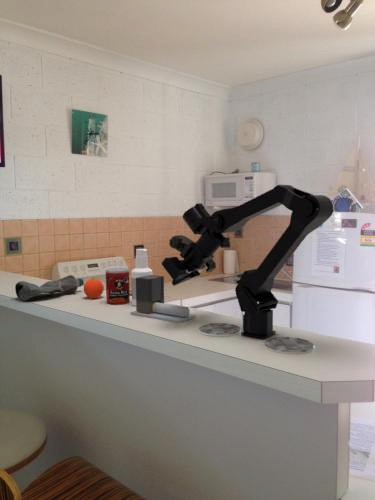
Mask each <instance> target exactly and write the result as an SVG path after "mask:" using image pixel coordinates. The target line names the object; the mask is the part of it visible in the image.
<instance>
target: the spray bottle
mask: <svg viewBox="0 0 375 500" xmlns="http://www.w3.org/2000/svg"><path fill="white" fill-rule="evenodd" d="M135 251H136V252H135V268H133V269H132V270H131V272H130V273H131V279H130V280H131V305H132V306H133V307H136V278H138V277H143V276H148V275H154V273H153V270H152V269H151V268H150V267H149V257H148V249H147V248H136V249H135Z"/></svg>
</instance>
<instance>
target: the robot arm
mask: <svg viewBox="0 0 375 500" xmlns="http://www.w3.org/2000/svg"><path fill="white" fill-rule="evenodd" d="M281 205H283V207H285V208H286V209H288V210H289V211H291V214H290V220H289V225H288V226H287V227H286V229H285V230H284V231H283V233H282V234H281V235H280V237H279V239H278V240H277V241H276V243H275V244H274V245H273V247H272V248H271V249H270V251H269V252H268V253H267V255H266V256H265V257H264V259H263V260H262V261H261V262H260V264H259V266H258V267H257V268H254V269H253V268H252V269H248V270H244V271H243V273H242V275H241V277H240V278H239V279H238V280H237V281H235V284H236V286H235V289H234V292H235V295H236V299H237V302H238V305H239V309H240V311H241V312H243V313H244V314H242V332H241V336H245V337H250V338H255V339H262V340H266V339H267V338H270V337H272V336H273V335H275V334H276V333H277V331H276V330H274V322H273V321H274V309H277V307H278V303H279V300H278V299H277V298H276V296H275V295H274V294H273V292H272V290H273V288H274V281H275V278H276V276H277V275H278V273H280V271H281V270H282V269H283V267H285V264H286V263H287V262H288V261H289V260H290V258H291V257H292V256H293V255H294V253H295V252H296V251H297V249H298V248H299V246H301V244H302V242H303V241H304V240H305V239H306V238H307V236H308V235H309V234H311V233H312V232H314V231H315V230H316V229H319V228H320V227H321V226H322V225H324V223H326V221H328V220H329V219H330V218H331V217H332V215H333V213H334V211H335V210H334V206H333V205H334V204H333V202H332V200H331V198H329V197H328V196H327V195H323V194H322V195H321V194H320V195H319V194H312V193H310V192H307V191H304V190H301V189H298V188H296V187H294V186H293V185H291V184H278V185H276V186H274V187H273V188H272V189H269V190H268V191H265V192H263V193H261V194H259V195H257V196H255V197H254V198H252V199H249V200H247V201H246V202H244V203H241V204H240V205H237V206H233V207H228V208H224V209H223V208H222V209H220V210H219V209H218V210H216V211H214V212H213V213H212V214H210V213H209V212H208V211H207V209H206V208H205V206H204V204H203V203H196V204H195V205H194V206H192V207H190V208H188V210H186V211H184V213H183V214H182V220H183V221H184V223H185V224H186V225H187V226H188V228H189V229H190V230H191V232H192V233H193V234H194V235H199V236H200V237H198V239H197V240H196V241H194V240H192V239H191V238H189V237H187V236H185V235H182V234H179V235H173V236H171V238H169V240H168V241H169V243H168V245H169V247H170V248H172V249H174V250H175V251H178V252H180V254H179V256H180V257H181V258H183V259H181V260H180V258H178V257H177V256H167V257H164V258H163V260H161V266H162V267H163V268H164V269H165V271H166V272H167V274H168V276H170V278H171V279H172V281H171V284H172V286H173V287H174V286H178V285H179V284H181V283H185V282H187V281H189V280H191V279H194V278H196V277H199V276H200V275H201V273H200V272H199V271H201V270H204V269H205V268H206V267H207V268H206V269H205V273H207V274H208V273H213V271H214V270H215V269H217V267H216V266H217V264H216V263H217V262H215V261H214V260H213V259H214V258H215V253H216V252H218V249H219V248H221V249H227V248H230V249H231V242H230V238H231V237H229V236H227V237H226V236H225V235H224V234H227V233H228V234H229V233H230V234H231V233H236V232H238V231H239V230H240V229H241V228H243V227H245V226H246V224H247V223H248V222H249V221H250V220H252V219H254V218H256V217H259V216H261V215H263V214H265V213H267V212H270V211H271V210H273V209H275V208H278V207H279V206H281Z"/></svg>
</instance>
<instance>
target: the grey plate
mask: <svg viewBox="0 0 375 500" xmlns="http://www.w3.org/2000/svg"><path fill="white" fill-rule="evenodd" d="M190 312H191V311H190V308H189V307H188V306H183V305H182V306H181V305H176V304H171V303H170V304H169V303H165V302H164V303H159V302H152V313H144V312H138V311H136V310H133V311H130V314H131V315H134V316H140V317H144V318H145V317H146V318H150V319H155V320H162V321H166V322H172V323H178V324H180V322H181V323H183V322H185V321H189V320H191V319H194V318H197V315H196V314H192V313H190Z"/></svg>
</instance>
